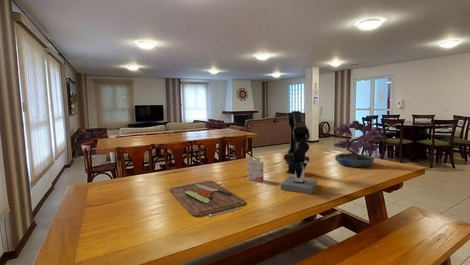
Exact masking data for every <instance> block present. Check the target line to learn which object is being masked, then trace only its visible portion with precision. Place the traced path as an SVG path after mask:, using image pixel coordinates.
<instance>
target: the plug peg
mask: <svg viewBox="0 0 470 265" xmlns="http://www.w3.org/2000/svg"><path fill="white" fill-rule="evenodd" d="M294 177H295V181H298V182H303V181H304V178H305V170H304V168H303V171H302V173H301V176H300V178H297V174H296V171H295V174H294Z"/></svg>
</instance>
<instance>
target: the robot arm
mask: <svg viewBox="0 0 470 265" xmlns="http://www.w3.org/2000/svg"><path fill="white" fill-rule="evenodd" d="M286 117H287V118H286V119H287V122H288V124H289V126H290V128H289V129H290V134H289V135H290V138H289V149H288V150H287V154H284V155H283V160H284V161H285V163H286V165H287V171H286V173H288V174H294V175H295V171H296V174H297V178H300V176H301V173H302V171H303V168H304V171H305V170H306V168H307V166H308V163H309V162H310V157H309V156H306V154H307V152H308V151H309V149H310V144H309V143H308V142H307V141H310V137H311V136H310V130H309V129H308V128H307V125H306V124H305V123H303V112H301V111H299V110H292V111H291V112H288V113H287V116H286Z"/></svg>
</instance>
